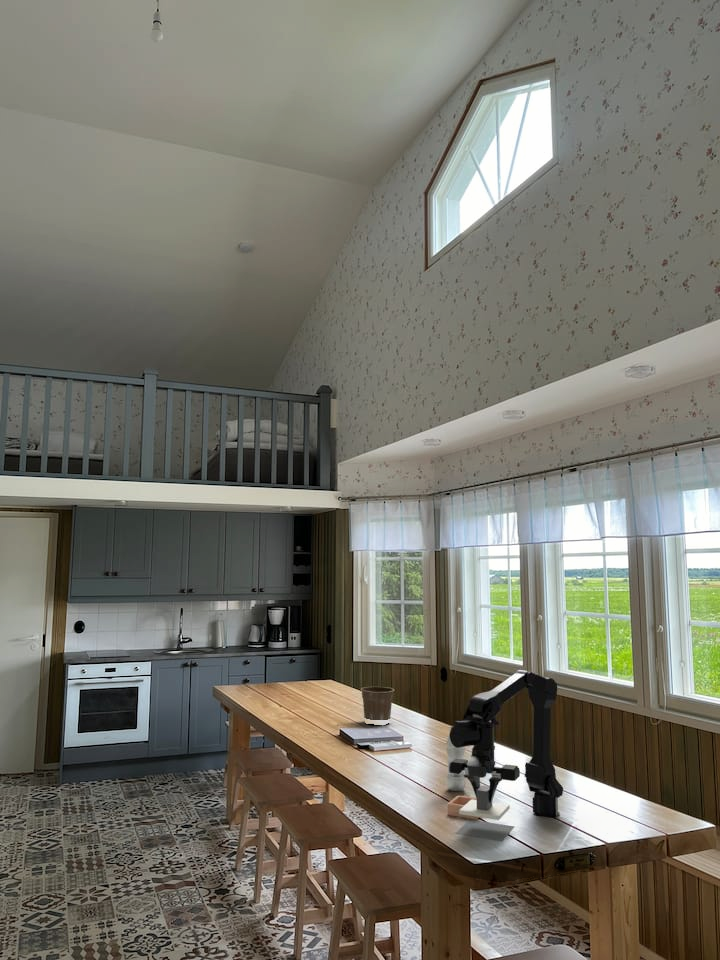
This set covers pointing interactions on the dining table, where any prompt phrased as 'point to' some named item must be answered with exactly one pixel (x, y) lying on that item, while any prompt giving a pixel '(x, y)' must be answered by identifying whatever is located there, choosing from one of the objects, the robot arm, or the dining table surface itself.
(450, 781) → the plastic bottle
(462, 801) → the orange open box
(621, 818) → the dining table surface
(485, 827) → the mat
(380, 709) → the plant pot
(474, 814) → the lid
